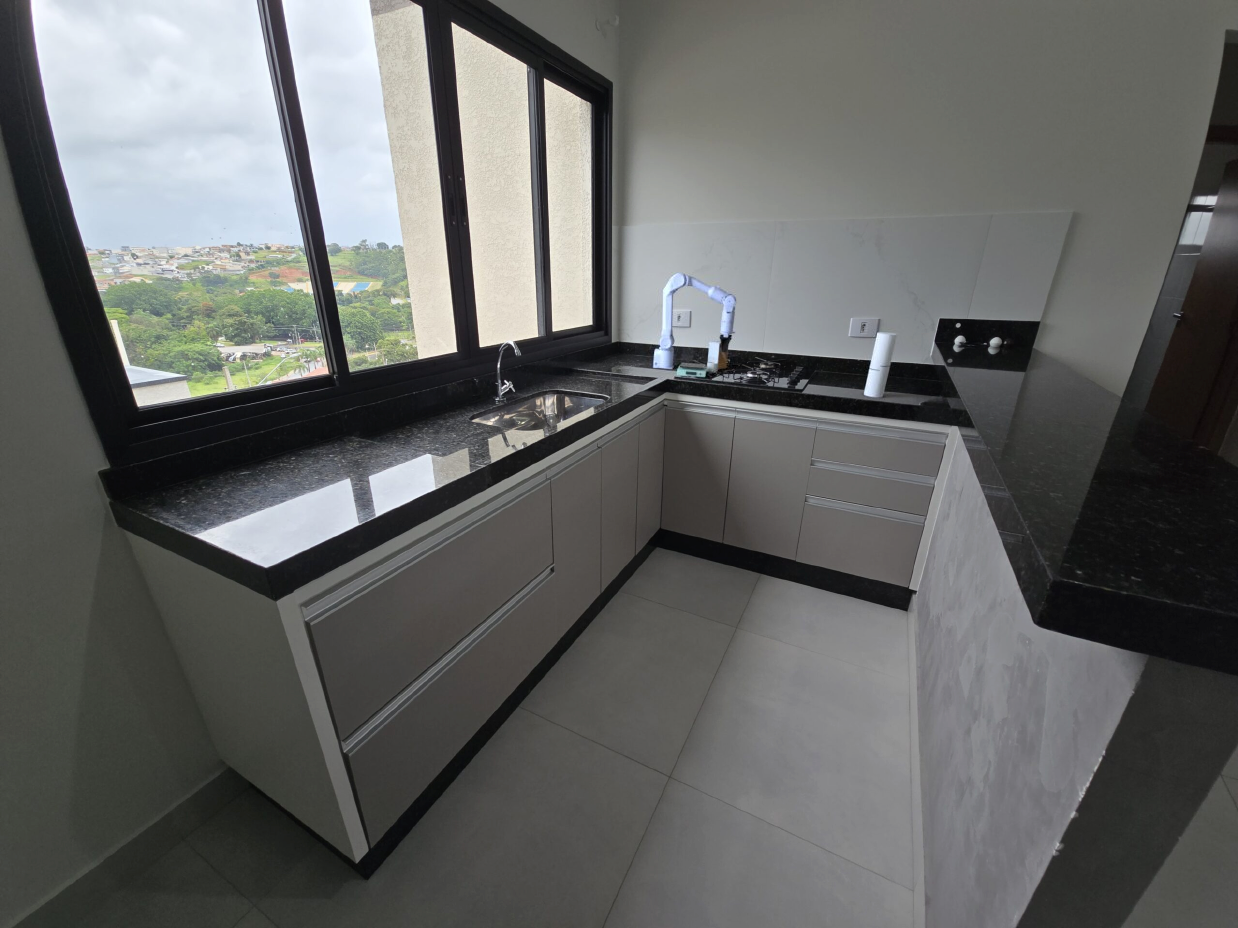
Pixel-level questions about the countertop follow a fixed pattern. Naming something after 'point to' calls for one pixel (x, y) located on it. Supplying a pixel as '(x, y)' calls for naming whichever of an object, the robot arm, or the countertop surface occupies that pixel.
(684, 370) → the scale
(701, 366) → the scale pan
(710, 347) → the small box
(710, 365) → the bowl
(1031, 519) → the countertop surface
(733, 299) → the robot arm
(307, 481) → the countertop surface
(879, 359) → the cylindrical container
